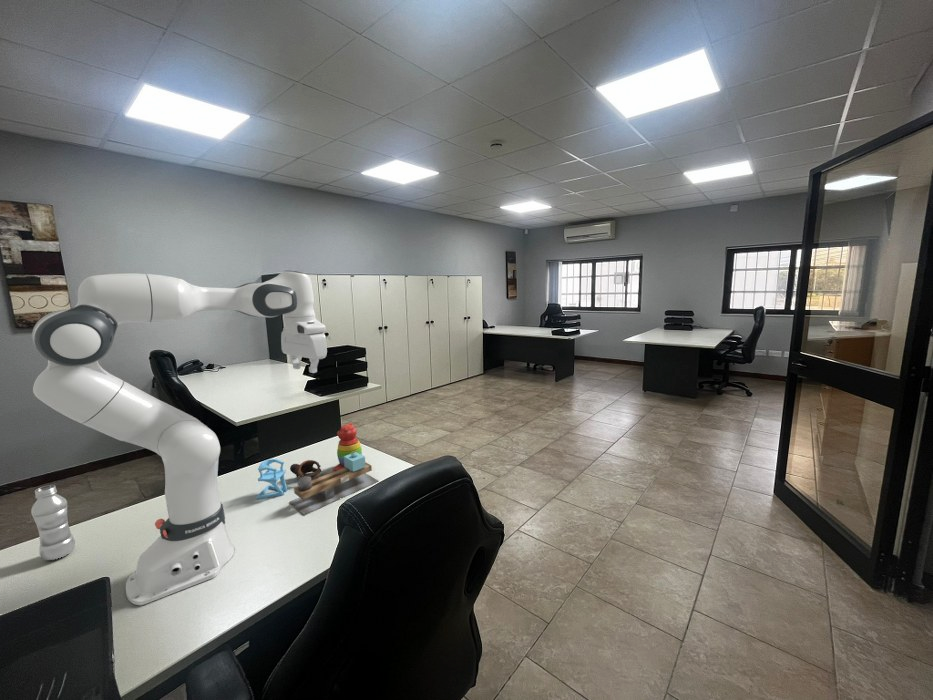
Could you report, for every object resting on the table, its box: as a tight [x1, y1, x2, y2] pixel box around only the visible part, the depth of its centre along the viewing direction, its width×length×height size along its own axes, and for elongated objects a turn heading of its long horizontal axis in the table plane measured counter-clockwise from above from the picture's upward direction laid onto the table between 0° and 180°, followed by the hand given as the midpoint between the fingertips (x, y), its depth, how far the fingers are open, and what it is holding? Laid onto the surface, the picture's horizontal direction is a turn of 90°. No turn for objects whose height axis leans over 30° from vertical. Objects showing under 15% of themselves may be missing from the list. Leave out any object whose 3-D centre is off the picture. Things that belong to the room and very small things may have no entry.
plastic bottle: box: [30, 484, 76, 561], centre depth 102 cm, size 6×7×20 cm
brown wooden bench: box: [289, 461, 380, 516], centre depth 133 cm, size 28×11×9 cm, turn 137°
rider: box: [344, 452, 366, 472], centre depth 138 cm, size 5×6×7 cm
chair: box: [256, 458, 289, 500], centre depth 133 cm, size 8×8×12 cm
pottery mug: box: [289, 459, 323, 481], centre depth 142 cm, size 12×10×8 cm
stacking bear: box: [332, 422, 363, 472], centre depth 150 cm, size 11×10×18 cm
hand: (304, 370), depth 116 cm, fingers open, 8 cm apart
